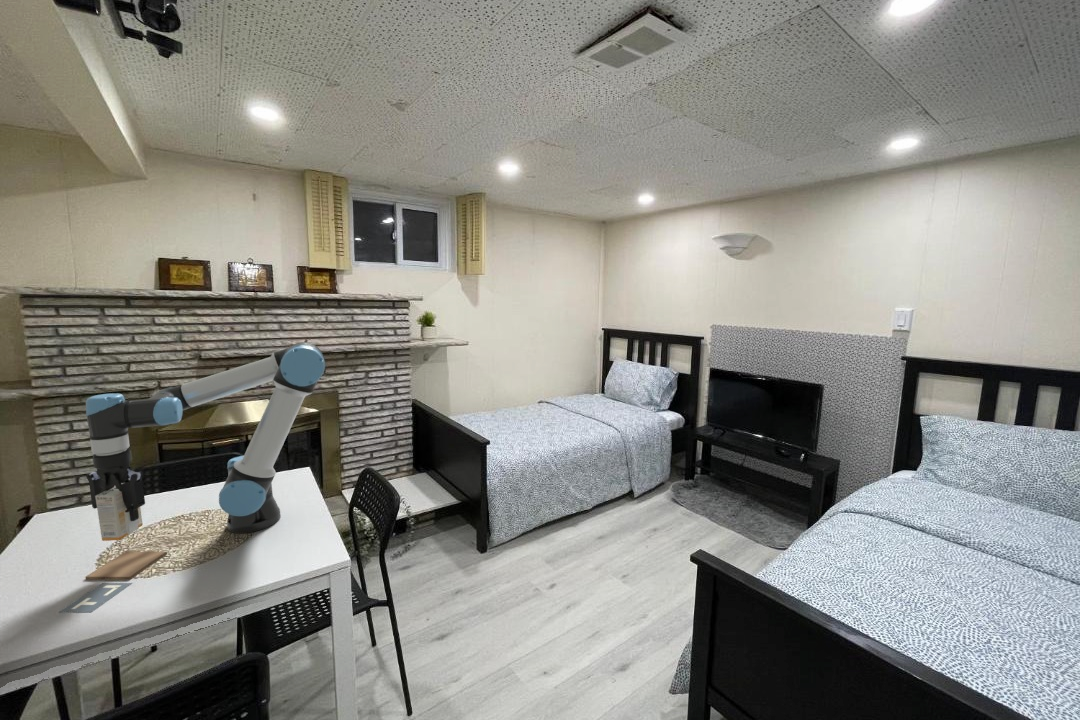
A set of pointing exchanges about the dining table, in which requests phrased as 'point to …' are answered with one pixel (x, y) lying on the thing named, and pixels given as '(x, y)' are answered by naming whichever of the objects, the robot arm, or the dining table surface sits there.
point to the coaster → (126, 565)
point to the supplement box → (113, 514)
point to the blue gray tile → (96, 597)
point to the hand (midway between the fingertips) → (122, 531)
